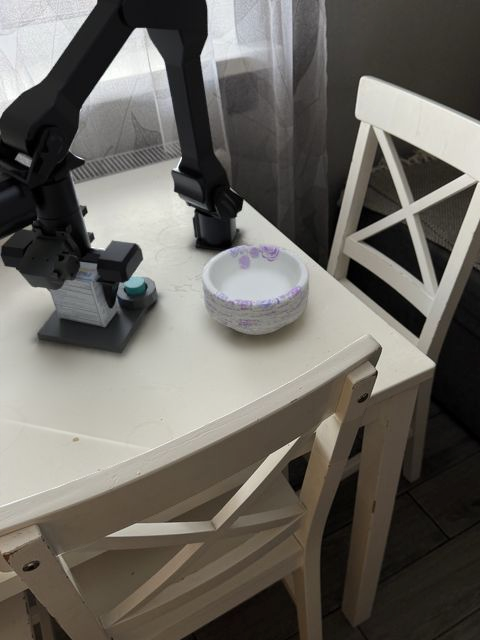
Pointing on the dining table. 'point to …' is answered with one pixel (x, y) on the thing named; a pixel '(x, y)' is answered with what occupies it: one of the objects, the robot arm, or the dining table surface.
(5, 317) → the dining table surface
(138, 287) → the tare button
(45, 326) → the scale
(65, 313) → the medicine box
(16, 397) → the dining table surface
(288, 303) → the paper bowls
